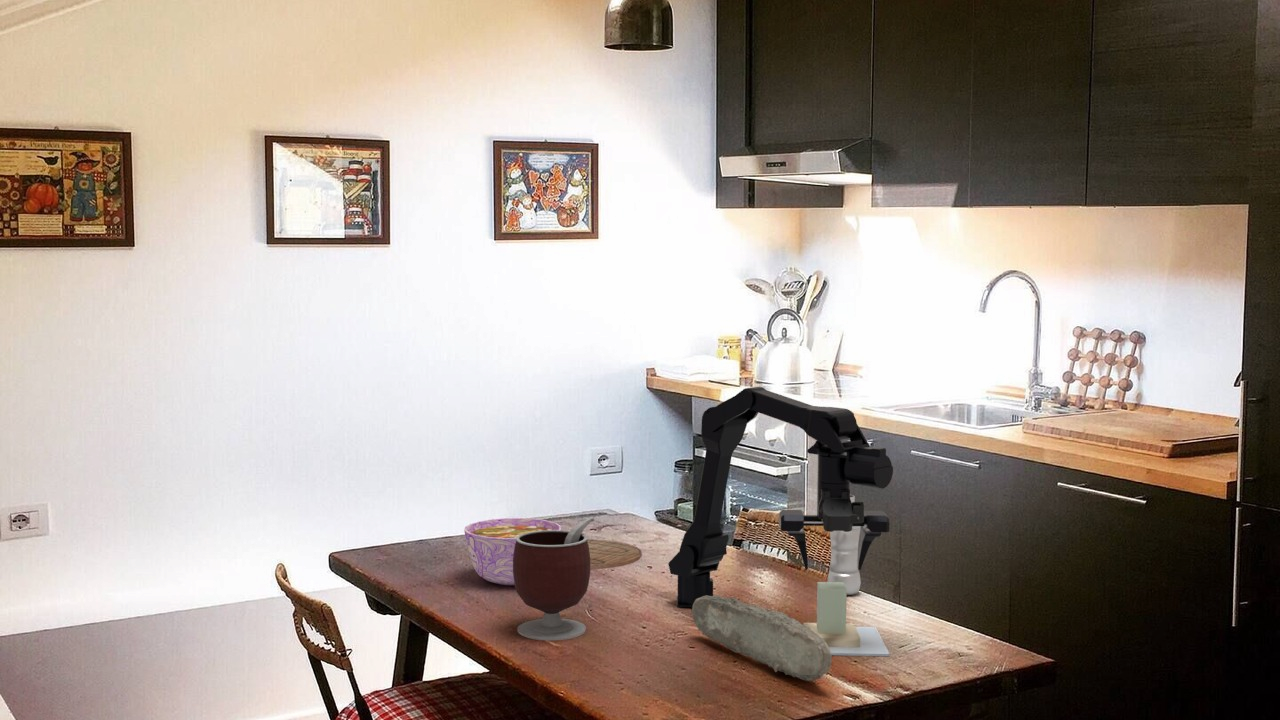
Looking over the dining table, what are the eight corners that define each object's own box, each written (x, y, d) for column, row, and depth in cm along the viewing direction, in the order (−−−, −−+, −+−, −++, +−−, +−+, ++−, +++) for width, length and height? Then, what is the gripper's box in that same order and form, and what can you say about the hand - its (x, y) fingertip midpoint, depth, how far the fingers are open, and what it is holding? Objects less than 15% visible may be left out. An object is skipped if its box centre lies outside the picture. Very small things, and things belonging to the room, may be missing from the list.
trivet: (599, 579, 272) (599, 570, 271) (506, 563, 285) (506, 555, 285) (663, 556, 292) (663, 548, 292) (573, 542, 306) (573, 534, 306)
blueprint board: (783, 654, 221) (783, 652, 221) (776, 627, 236) (776, 625, 236) (889, 656, 220) (889, 653, 220) (875, 628, 236) (875, 626, 236)
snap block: (819, 633, 226) (820, 588, 225) (816, 626, 231) (817, 582, 230) (845, 634, 226) (846, 589, 225) (842, 626, 230) (843, 582, 230)
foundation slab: (807, 646, 224) (808, 637, 224) (803, 631, 233) (803, 622, 233) (860, 647, 224) (860, 638, 223) (853, 632, 233) (853, 623, 232)
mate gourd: (535, 647, 224) (535, 533, 222) (499, 627, 236) (499, 518, 234) (612, 633, 232) (612, 523, 230) (574, 615, 244) (574, 510, 242)
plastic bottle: (840, 600, 255) (842, 500, 254) (820, 592, 261) (822, 494, 260) (867, 596, 258) (869, 497, 257) (846, 588, 264) (848, 491, 263)
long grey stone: (682, 641, 228) (682, 585, 228) (705, 636, 232) (706, 581, 231) (819, 697, 200) (821, 634, 199) (844, 690, 203) (845, 628, 202)
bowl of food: (446, 589, 262) (445, 533, 261) (493, 567, 280) (493, 514, 279) (534, 600, 254) (534, 542, 253) (577, 576, 273) (577, 522, 272)
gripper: (783, 489, 218) (782, 580, 219) (895, 490, 218) (893, 581, 219) (779, 477, 229) (777, 564, 231) (885, 478, 229) (883, 565, 230)
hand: (832, 569), depth 227 cm, fingers open, 9 cm apart
